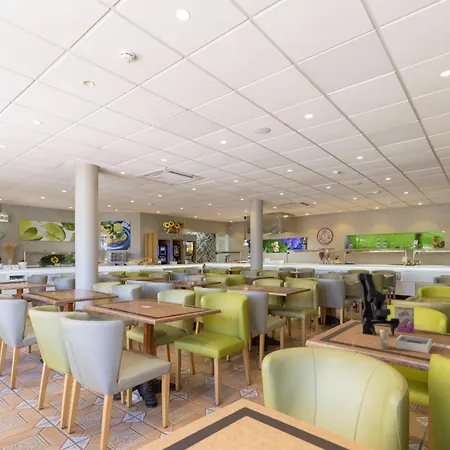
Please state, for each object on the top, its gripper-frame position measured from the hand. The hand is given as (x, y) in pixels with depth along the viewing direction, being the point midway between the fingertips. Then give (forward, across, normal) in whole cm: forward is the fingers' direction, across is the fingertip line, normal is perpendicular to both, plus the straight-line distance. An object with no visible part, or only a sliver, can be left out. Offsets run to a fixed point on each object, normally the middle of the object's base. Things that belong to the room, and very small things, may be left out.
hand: (384, 335), depth 192 cm
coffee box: (-39, +16, +49) cm, 64 cm away
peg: (+4, 0, +6) cm, 7 cm away
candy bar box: (-25, +25, +35) cm, 49 cm away
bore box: (+1, +17, +9) cm, 19 cm away
